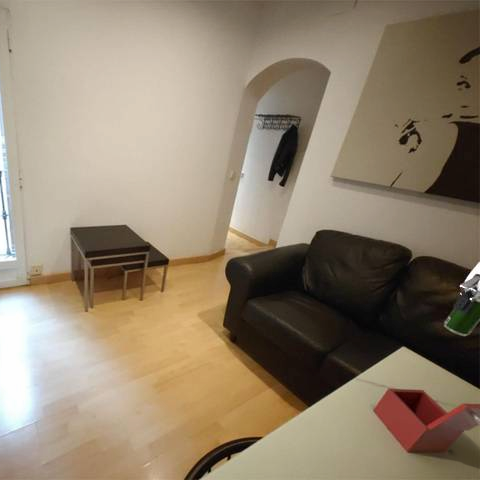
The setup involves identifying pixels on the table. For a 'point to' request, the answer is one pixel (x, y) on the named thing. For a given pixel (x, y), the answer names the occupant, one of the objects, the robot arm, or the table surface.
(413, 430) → the red open box
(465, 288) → the robot arm
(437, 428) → the lid
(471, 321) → the beer can
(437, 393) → the table surface
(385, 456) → the table surface
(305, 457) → the table surface
